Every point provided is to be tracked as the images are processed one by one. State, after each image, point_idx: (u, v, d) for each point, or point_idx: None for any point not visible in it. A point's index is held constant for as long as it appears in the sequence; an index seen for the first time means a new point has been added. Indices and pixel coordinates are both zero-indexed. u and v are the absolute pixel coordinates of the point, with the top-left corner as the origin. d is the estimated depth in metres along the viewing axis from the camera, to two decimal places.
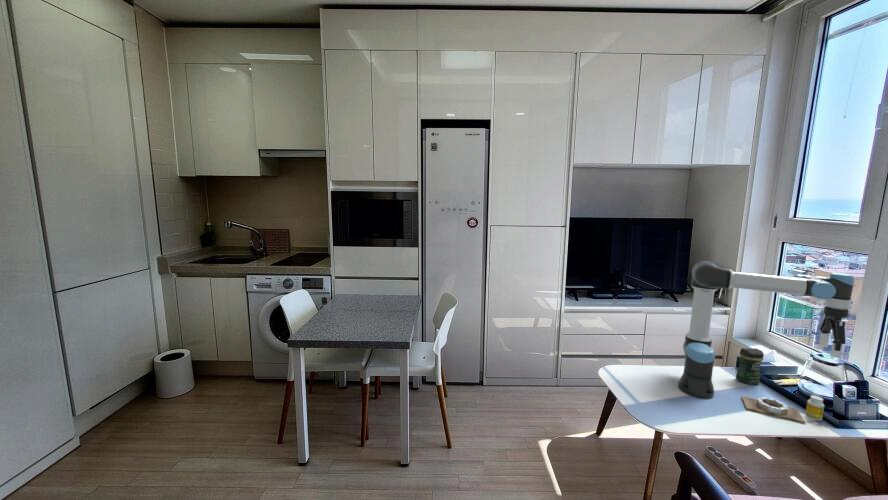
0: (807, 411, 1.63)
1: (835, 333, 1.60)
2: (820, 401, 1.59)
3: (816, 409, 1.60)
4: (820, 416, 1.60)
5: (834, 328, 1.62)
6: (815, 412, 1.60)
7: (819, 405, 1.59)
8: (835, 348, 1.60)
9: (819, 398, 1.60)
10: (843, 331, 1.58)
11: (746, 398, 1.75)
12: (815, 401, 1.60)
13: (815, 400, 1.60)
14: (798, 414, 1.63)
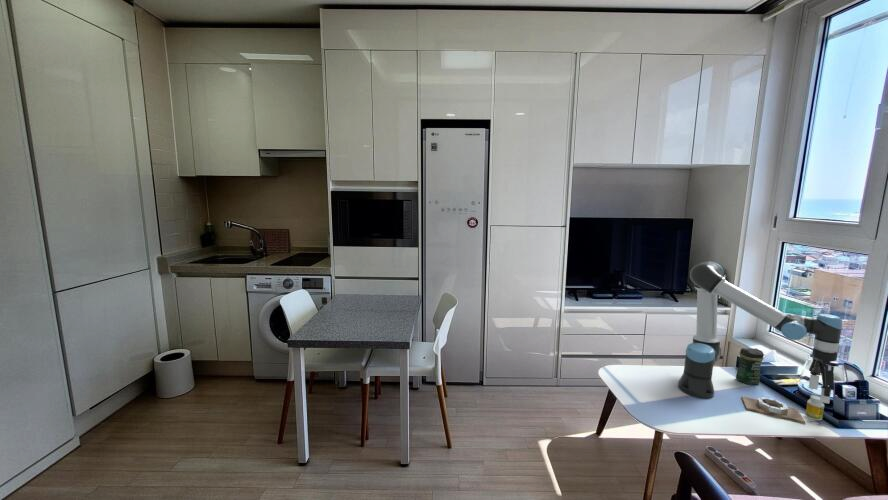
0: (807, 411, 1.63)
1: (824, 377, 1.55)
2: None
3: (816, 409, 1.60)
4: (820, 416, 1.60)
5: (823, 372, 1.56)
6: (815, 412, 1.60)
7: (819, 405, 1.59)
8: (824, 393, 1.54)
9: (819, 398, 1.60)
10: (832, 376, 1.52)
11: (746, 398, 1.75)
12: (815, 401, 1.60)
13: (815, 400, 1.60)
14: (798, 414, 1.63)
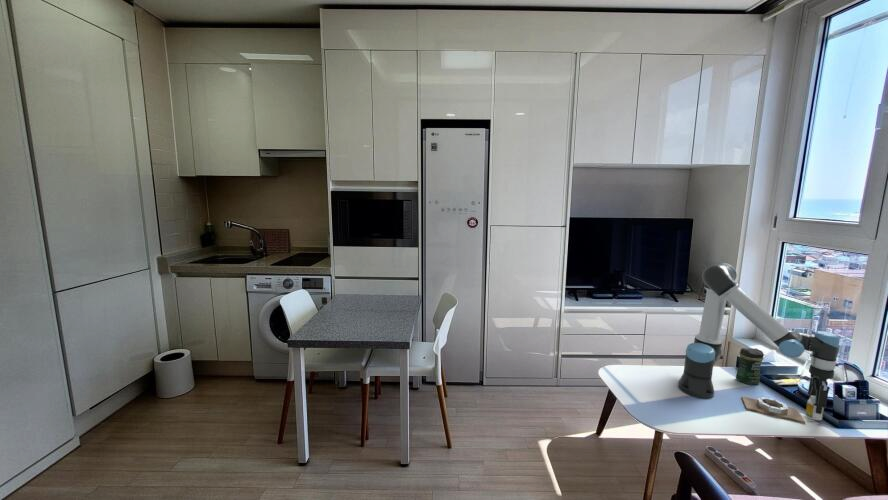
0: (807, 411, 1.63)
1: (818, 396, 1.58)
2: None
3: None
4: None
5: (818, 390, 1.59)
6: None
7: None
8: (816, 411, 1.59)
9: None
10: (826, 396, 1.55)
11: (746, 398, 1.75)
12: (815, 401, 1.60)
13: (815, 400, 1.60)
14: (798, 414, 1.63)
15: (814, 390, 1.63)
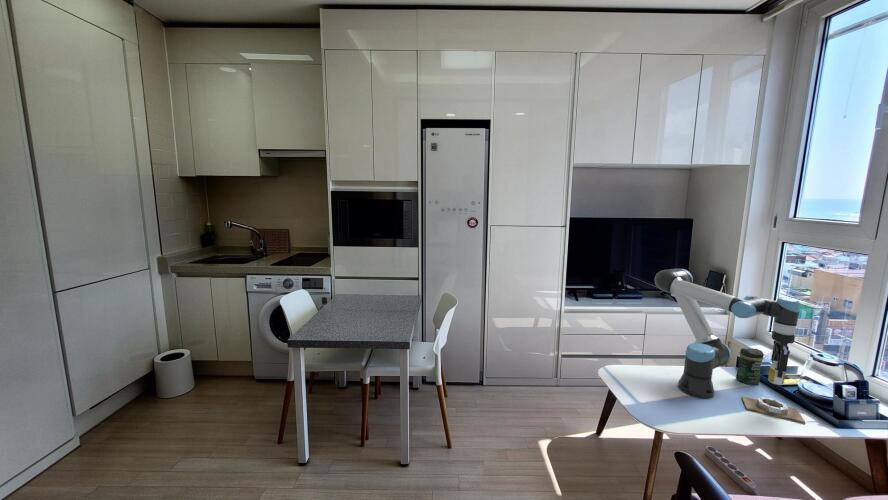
0: (769, 376, 1.66)
1: None
2: None
3: None
4: None
5: (779, 355, 1.62)
6: None
7: None
8: (777, 375, 1.62)
9: None
10: (786, 360, 1.58)
11: (746, 398, 1.75)
12: None
13: None
14: (798, 414, 1.63)
15: (776, 356, 1.66)
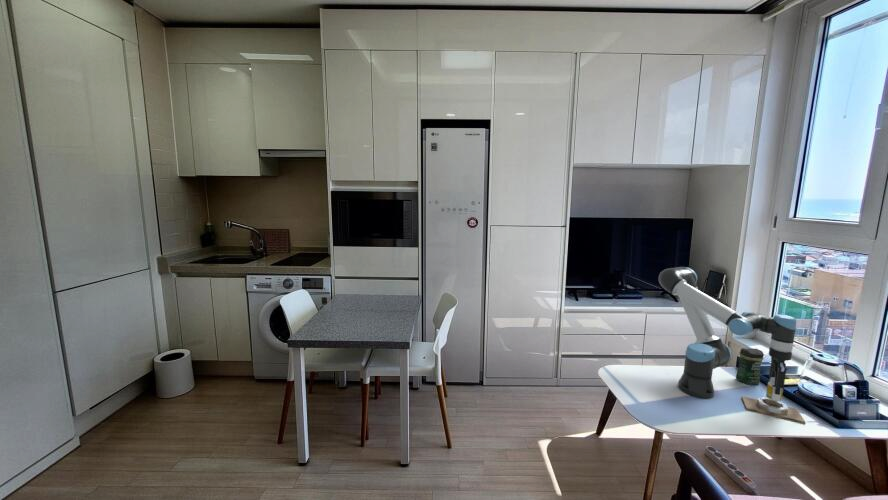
0: (767, 392, 1.67)
1: (776, 377, 1.62)
2: None
3: None
4: None
5: (776, 371, 1.63)
6: None
7: None
8: (775, 392, 1.63)
9: None
10: (783, 377, 1.59)
11: (746, 398, 1.75)
12: (774, 382, 1.64)
13: None
14: (798, 414, 1.63)
15: (774, 372, 1.67)
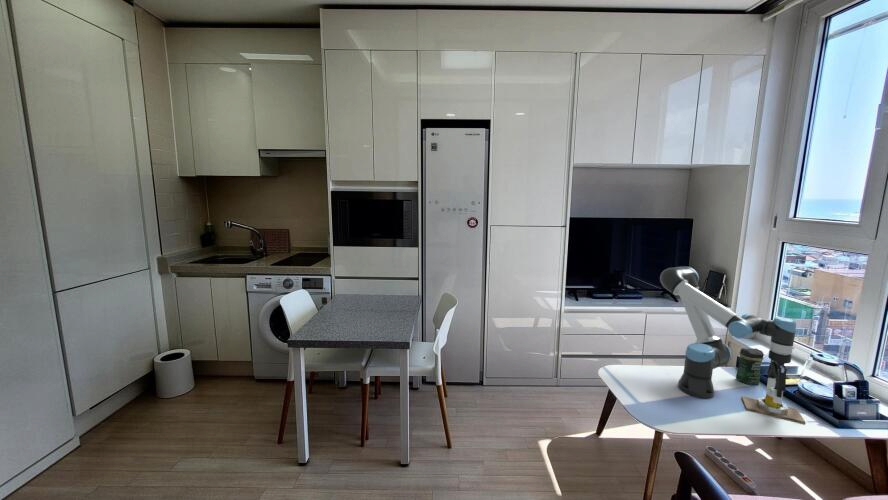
0: (766, 402, 1.67)
1: (777, 379, 1.61)
2: None
3: None
4: (777, 407, 1.64)
5: (777, 374, 1.62)
6: (772, 403, 1.65)
7: None
8: (776, 394, 1.60)
9: None
10: (784, 378, 1.58)
11: (746, 398, 1.75)
12: (773, 393, 1.65)
13: (773, 391, 1.64)
14: (798, 414, 1.63)
15: (773, 372, 1.69)
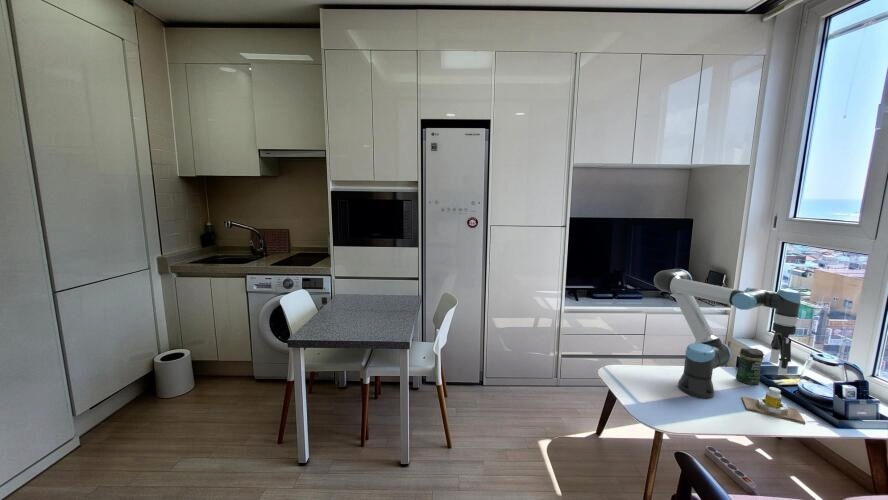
0: (766, 402, 1.67)
1: None
2: (778, 392, 1.64)
3: (773, 401, 1.64)
4: (778, 407, 1.64)
5: (781, 345, 1.60)
6: (772, 403, 1.65)
7: (777, 396, 1.64)
8: (781, 365, 1.58)
9: (777, 389, 1.65)
10: (789, 349, 1.56)
11: (746, 398, 1.75)
12: (773, 392, 1.65)
13: (773, 391, 1.65)
14: (798, 414, 1.63)
15: (776, 344, 1.68)
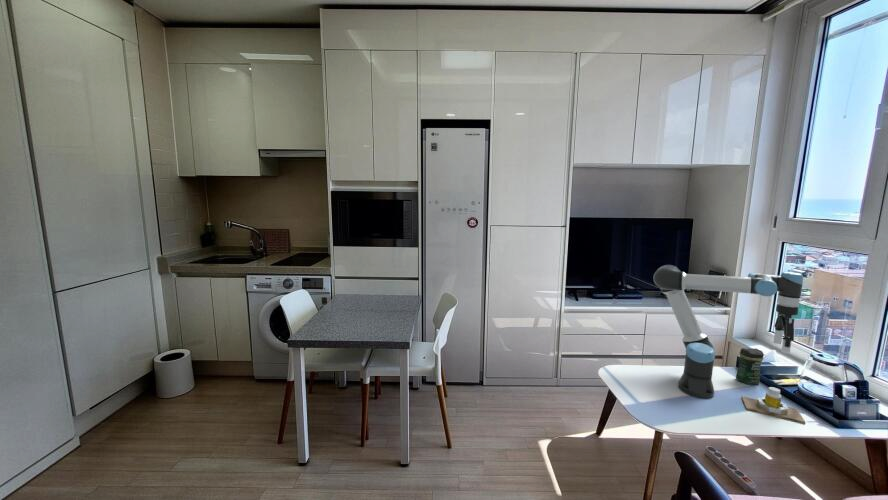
0: (766, 402, 1.67)
1: (785, 330, 1.67)
2: (777, 392, 1.64)
3: (773, 401, 1.64)
4: (777, 407, 1.64)
5: (785, 325, 1.68)
6: (772, 403, 1.65)
7: (777, 396, 1.64)
8: (785, 344, 1.66)
9: (776, 389, 1.65)
10: (792, 328, 1.64)
11: (746, 398, 1.75)
12: (773, 392, 1.65)
13: (773, 391, 1.65)
14: (798, 414, 1.63)
15: (780, 325, 1.75)
